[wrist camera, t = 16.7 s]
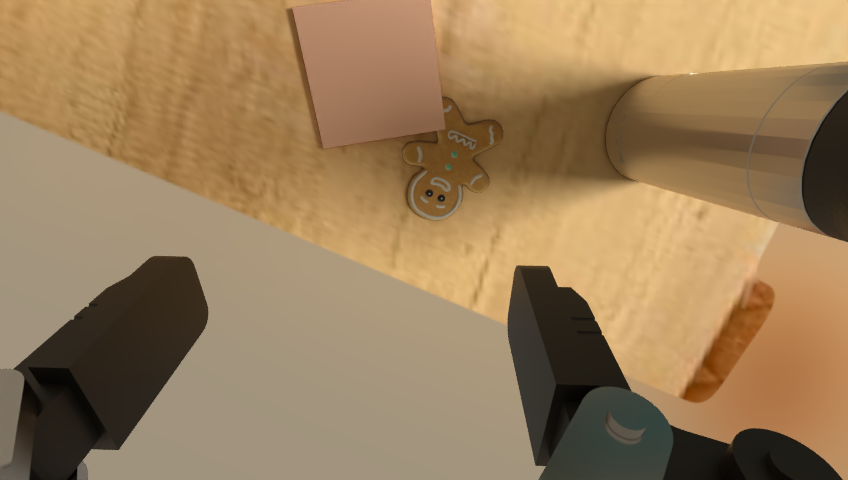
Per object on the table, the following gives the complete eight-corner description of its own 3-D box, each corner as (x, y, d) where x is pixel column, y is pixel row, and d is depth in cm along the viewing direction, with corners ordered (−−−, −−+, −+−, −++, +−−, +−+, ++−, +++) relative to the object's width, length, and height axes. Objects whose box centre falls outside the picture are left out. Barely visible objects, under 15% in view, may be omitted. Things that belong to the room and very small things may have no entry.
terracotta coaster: (428, -8, 31) (429, -10, 30) (444, 128, 34) (445, 129, 33) (293, 9, 30) (292, 7, 29) (323, 147, 33) (323, 148, 32)
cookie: (517, 130, 34) (466, 236, 37) (513, 130, 35) (463, 232, 38) (429, 87, 32) (381, 202, 34) (427, 87, 33) (380, 200, 35)
